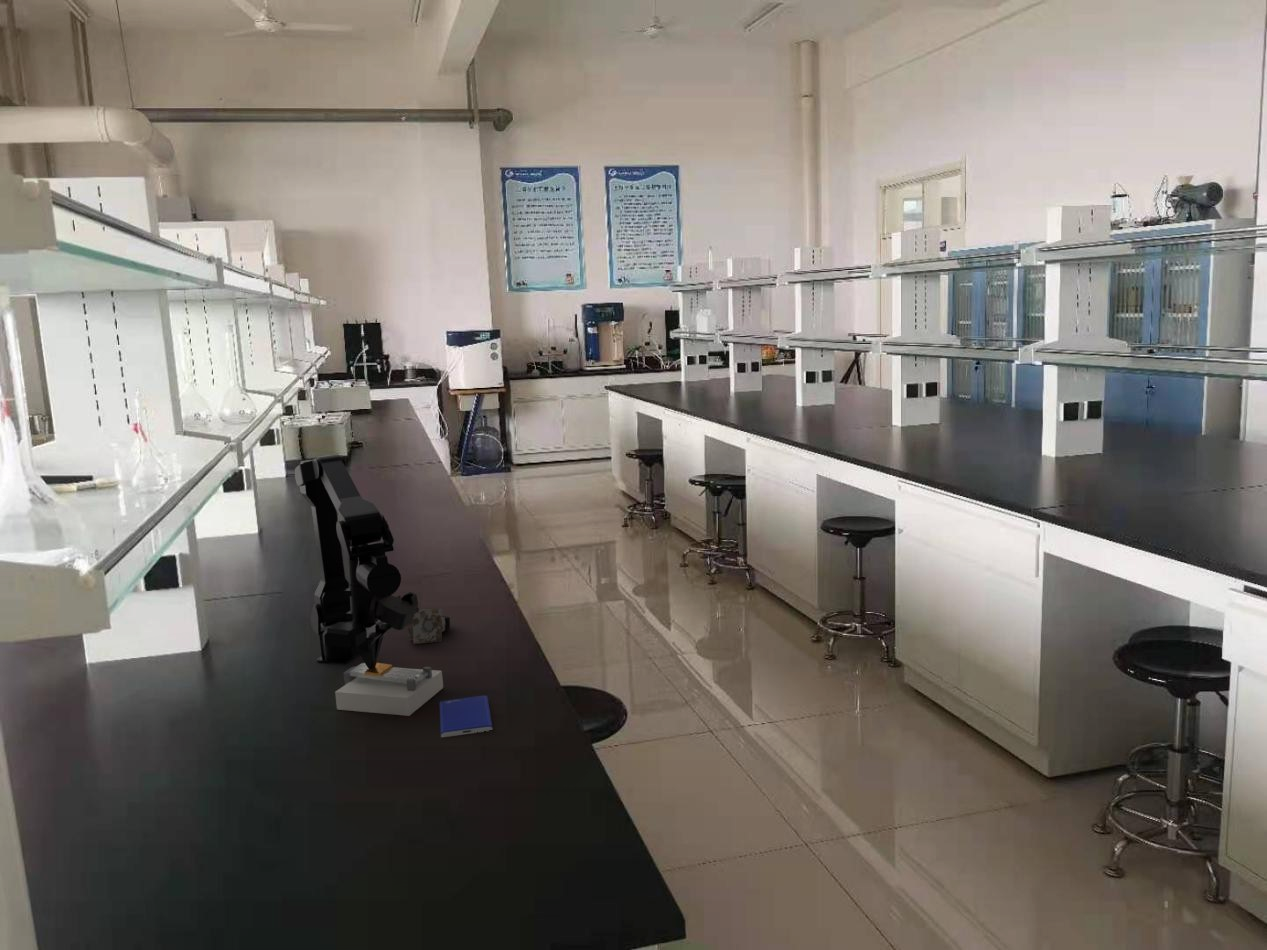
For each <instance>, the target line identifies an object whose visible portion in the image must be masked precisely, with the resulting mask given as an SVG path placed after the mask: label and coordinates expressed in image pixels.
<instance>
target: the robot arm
mask: <svg viewBox="0 0 1267 950" xmlns="http://www.w3.org/2000/svg"><path fill="white" fill-rule="evenodd" d="M294 479H295V482H296V485H297V486H298V487H299V491H300V494H301V496H302V497H303V498H304V499H305V501H307V503H308V504H309V505H310V507H311V513H312V514H311V515H312V521H313V522H312V523H313V529H314V538H315V544H316V553H317V559H318V560H317V561H318V569H319V576H320V580H319V583H318V586H317V587H316V590H315V592H314V595H313V597H314V604H313V606H312V608H311V614H310V620H309V621H310V624H311V630H312V631H313V632H314V633H315V634H316V635H317V636H318V637H319V644H320V645H319V646H320V647H319V648H320V655H321V656H320V657H318V658H317V659H316V662H317V663H325V664H326V663H327V664H339V665H345V664H347V663H349V662H350V661H352V660H353V659H355V658H356V657H358V656H360V657H361V659H362V661H363V663H365V664H366V666H367V667H368V668H374V667H375V666H376V663H378V662H377V661H378V657H379V654H380V649H381V647H382V642H383V640H384V637H385V635H387V633H388V632H389V631H390V630H391V629H394V630H397V631H402V630H403V629H405V628H406V627H407V625H410V624H411V623H412V621H413V617H414V614H415V613H417V612H418V611H419V610H420V608H419V601H418V596H417V594H416V593H414V592H412V591H409V592H407V593H405V594H404V595H403V596H401V595H397V596H395V595H394V594H395V592H397V591H398V590H399V588H400V586H401V583H402V576H401V572H400V571H399V569H398V568H397V566H395V565H394V564H392V563H391V562H389V560H388V556H387V555H386V553H388V552H394V549H395V548H394V541H395V539H394V537H393V534H392V532H391V529H390V526H389V523H388V520H386V519H385V515H384V514H382V513H381V512H380V511H379V509H378V508H377V506H376V505H375V503H373V502H371V501H368V500H365V499H364V498H363V497H362V495H361V494H360V492H359V490H358V488H357V485H356V484H355V483H354V480H353V479H352V476H351V475H350V473H349V471H348V469H347V467H346V460H345V457H344V456H343V455H342V454H338V453H336V454H330V455H322V456H320V455H319V456H317V458H313V459H309V460H302V461H300V462H299V465H297V466H296V467H295V468H294ZM381 540H382V541H383V542H381ZM343 553H344V555H345V558H346V559H347V572H348V574H347V575H348V580H347V579H346V572H345V566H344V555H343Z"/></svg>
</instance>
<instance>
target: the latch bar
mask: <svg viewBox="0 0 1267 950" xmlns="http://www.w3.org/2000/svg"><path fill="white" fill-rule="evenodd" d="M403 668H404V667H394V666H393V664H390V663H383V662H376V666H375V667H374V668H368V667H367V666H366V664H365V663H364V662H362V663H360V664H358V665H357V666H355V668H354V669H353V670H351V671H350V676H356V677H363V678H370V679H377V680H384V681H391V682H398V683H405V684H407V680H408V679H415V683H416V685H417V684H418V683H419V682H421V681H422V680H423V679H425V678H426V677H427V676H428V673H427V671H417V670H410V669H411V668H409V669H403Z"/></svg>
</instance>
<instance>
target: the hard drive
mask: <svg viewBox="0 0 1267 950" xmlns="http://www.w3.org/2000/svg"><path fill="white" fill-rule="evenodd" d="M489 703H490V702H489V697H488V696H487V695H478V696H477V695H476V696H471V697H464V698H463V697H462V698H455V699H449V700H448V699H447V700H442V701H440V702H439V721H440V722H439V723H440V725H439V726H440V737H441V738H449V737H455V736H463V735H469V734H470V735H471V734H477V732H478V733H484V731H486V732H490V731H489V730H493V723H492V716H491V709H490V704H489Z"/></svg>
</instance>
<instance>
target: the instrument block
mask: <svg viewBox="0 0 1267 950" xmlns="http://www.w3.org/2000/svg"><path fill="white" fill-rule="evenodd" d="M355 667H356V666H353V665H352V667H350V668H349V669H346V671H344V672H343V679H344V681H343V682H344V685H343V686H342V687H340V688H339V689H337V690H336V691H335V692H334V695H335V701H336V702H335V703H336V710H339V711H340V710H341V711H349V712H350V711H351V712H352V711H353V712H361V713H373V714H385V715H396V716H406V717H409V716H411V715H412V714H414V713H415V711H417V710H419V708H421V707H422V706H423V705H425V703H427V702H428V701H429V700H430V699H431V698H432V697H434V696H436V694H437V693H439V692H440V691H441V690H442V689H444V681H443V680H444V679H443V672H442V670H435V669H432V666H424V667H422V669H420V668H407V667H406V668H405V667H402V668H403V669H410V670H417V671H427V673H428V676H427V677H426V678H425V679H423V680H422V681H421V682H419V683H418V684H417V685H416V683H415V679H408V680H407V684H405V683H398V682H391V681H384V680H377V679H370V678H363V677H356V676H350V671H351V670H353V669H354V668H355Z"/></svg>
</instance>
